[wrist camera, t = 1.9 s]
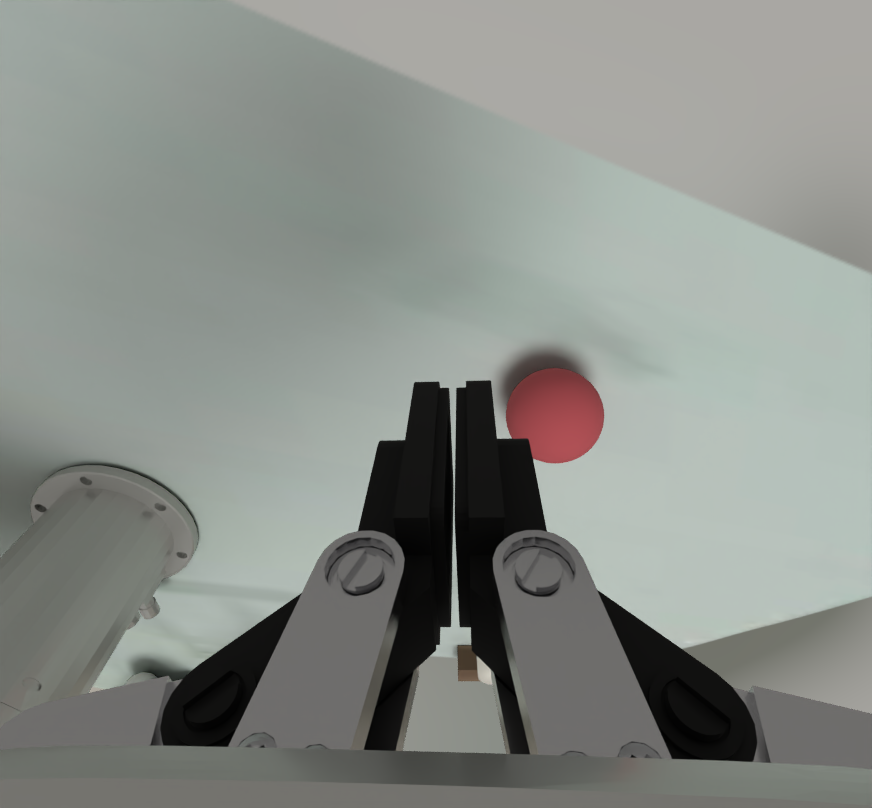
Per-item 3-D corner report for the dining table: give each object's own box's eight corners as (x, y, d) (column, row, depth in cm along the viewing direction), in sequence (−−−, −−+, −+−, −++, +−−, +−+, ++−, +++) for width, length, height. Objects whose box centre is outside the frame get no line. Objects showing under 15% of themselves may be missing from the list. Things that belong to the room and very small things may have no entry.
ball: (583, 426, 34) (607, 482, 29) (499, 428, 35) (509, 484, 29) (596, 351, 31) (625, 399, 26) (503, 352, 31) (515, 400, 26)
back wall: (573, 656, 50) (579, 680, 48) (457, 656, 50) (458, 681, 48) (576, 645, 49) (582, 669, 46) (457, 645, 49) (458, 670, 47)
